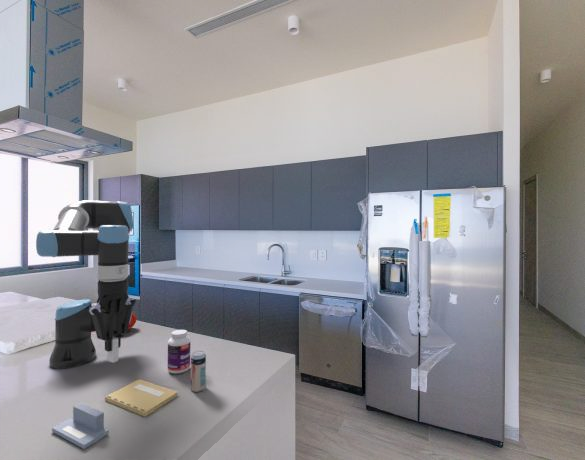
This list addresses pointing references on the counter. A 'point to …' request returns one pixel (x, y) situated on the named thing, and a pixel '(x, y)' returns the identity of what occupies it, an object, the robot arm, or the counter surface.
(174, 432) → the counter surface
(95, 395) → the counter surface
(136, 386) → the tan notebook
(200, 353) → the beer can
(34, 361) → the counter surface
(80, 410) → the stub
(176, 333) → the pill bottle
